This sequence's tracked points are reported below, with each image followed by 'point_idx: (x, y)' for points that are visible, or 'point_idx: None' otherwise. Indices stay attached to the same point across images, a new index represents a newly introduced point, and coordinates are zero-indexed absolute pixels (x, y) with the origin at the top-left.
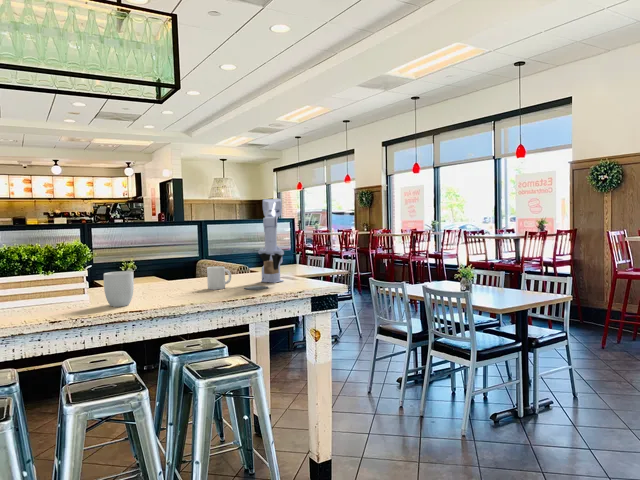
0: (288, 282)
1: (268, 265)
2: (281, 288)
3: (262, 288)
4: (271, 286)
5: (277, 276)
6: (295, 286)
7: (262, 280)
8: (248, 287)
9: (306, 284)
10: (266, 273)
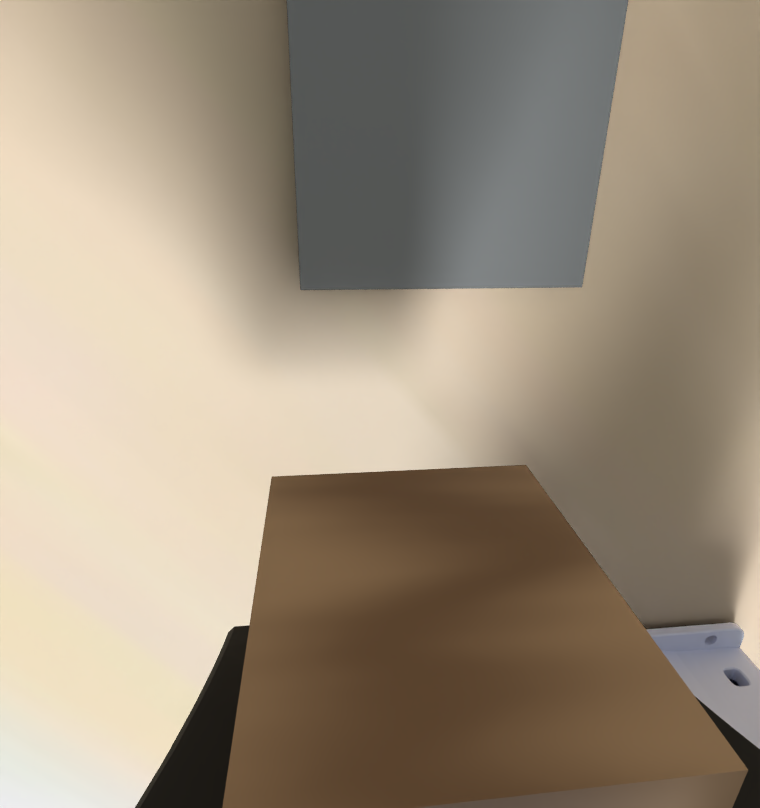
0: None
1: (415, 640)
2: (71, 354)
3: (292, 117)
4: (370, 430)
5: None
6: (58, 583)
7: (730, 650)
8: (583, 27)
9: (81, 739)
10: (452, 471)
